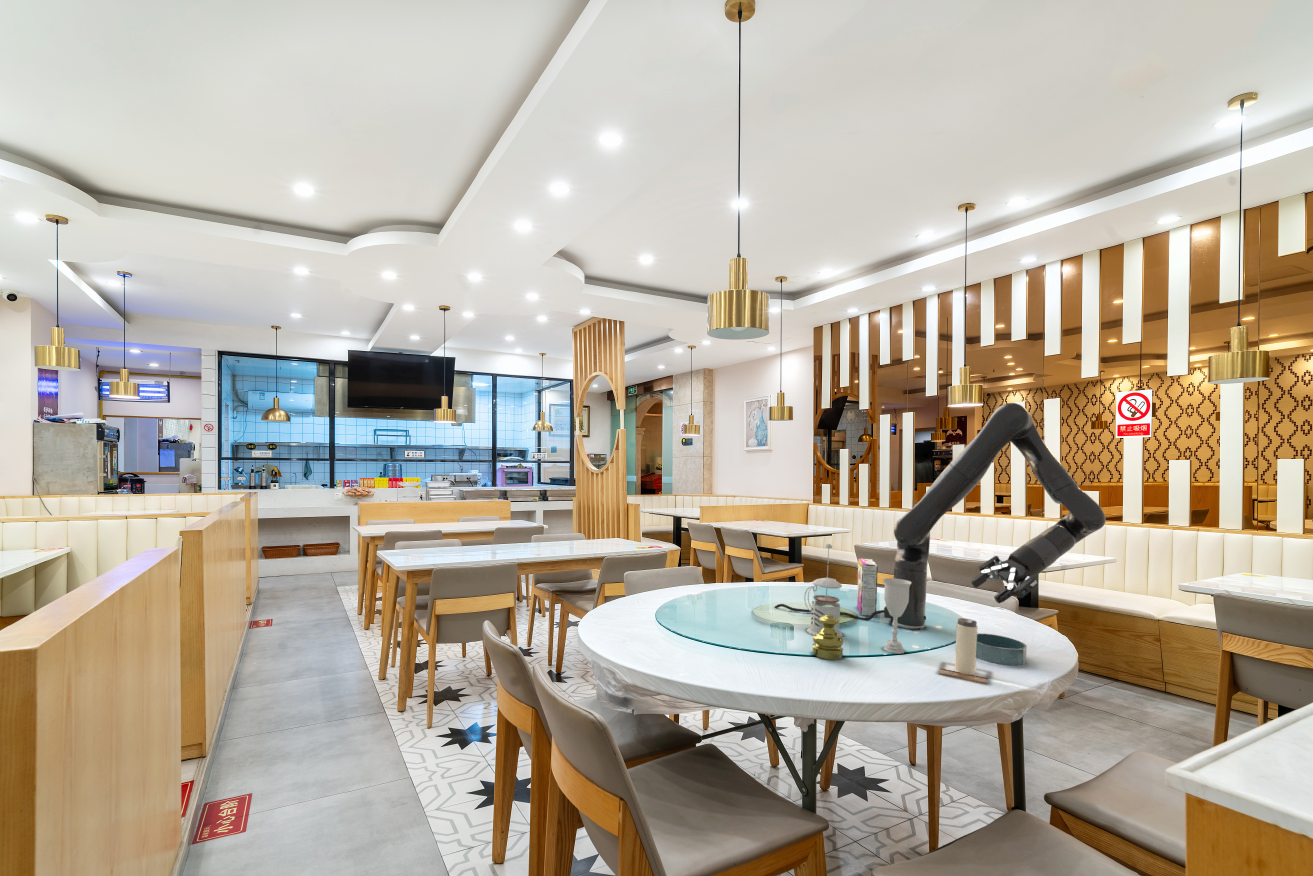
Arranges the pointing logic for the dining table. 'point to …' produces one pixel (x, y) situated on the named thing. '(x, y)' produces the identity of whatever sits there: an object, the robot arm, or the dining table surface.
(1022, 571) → the robot arm
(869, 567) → the candy bar box
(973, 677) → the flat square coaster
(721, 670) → the dining table surface
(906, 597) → the chalice
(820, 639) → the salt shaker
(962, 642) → the cream shaker
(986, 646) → the bowl
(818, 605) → the french press
